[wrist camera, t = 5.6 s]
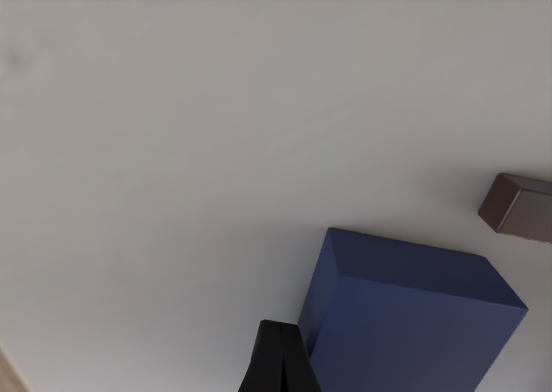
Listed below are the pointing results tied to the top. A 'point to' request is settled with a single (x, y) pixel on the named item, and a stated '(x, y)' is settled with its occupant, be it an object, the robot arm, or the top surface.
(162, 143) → the top surface
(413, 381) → the tea packet
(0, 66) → the top surface
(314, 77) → the top surface
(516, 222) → the bay
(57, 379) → the top surface
